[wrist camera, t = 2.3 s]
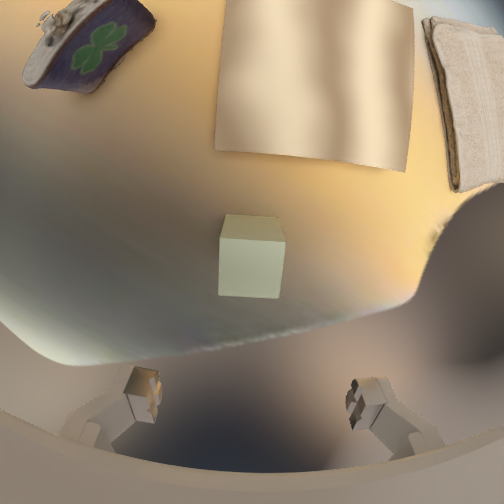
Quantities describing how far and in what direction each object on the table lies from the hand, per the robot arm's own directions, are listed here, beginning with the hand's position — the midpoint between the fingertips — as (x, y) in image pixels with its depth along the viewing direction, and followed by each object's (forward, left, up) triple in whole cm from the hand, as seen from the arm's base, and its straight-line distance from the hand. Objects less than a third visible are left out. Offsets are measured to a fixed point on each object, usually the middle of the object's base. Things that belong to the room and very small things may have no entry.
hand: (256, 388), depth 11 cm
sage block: (0, 0, -17) cm, 17 cm away
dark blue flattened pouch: (-13, +17, -17) cm, 27 cm away
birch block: (+4, +15, -17) cm, 23 cm away
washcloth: (+22, +17, -17) cm, 33 cm away
